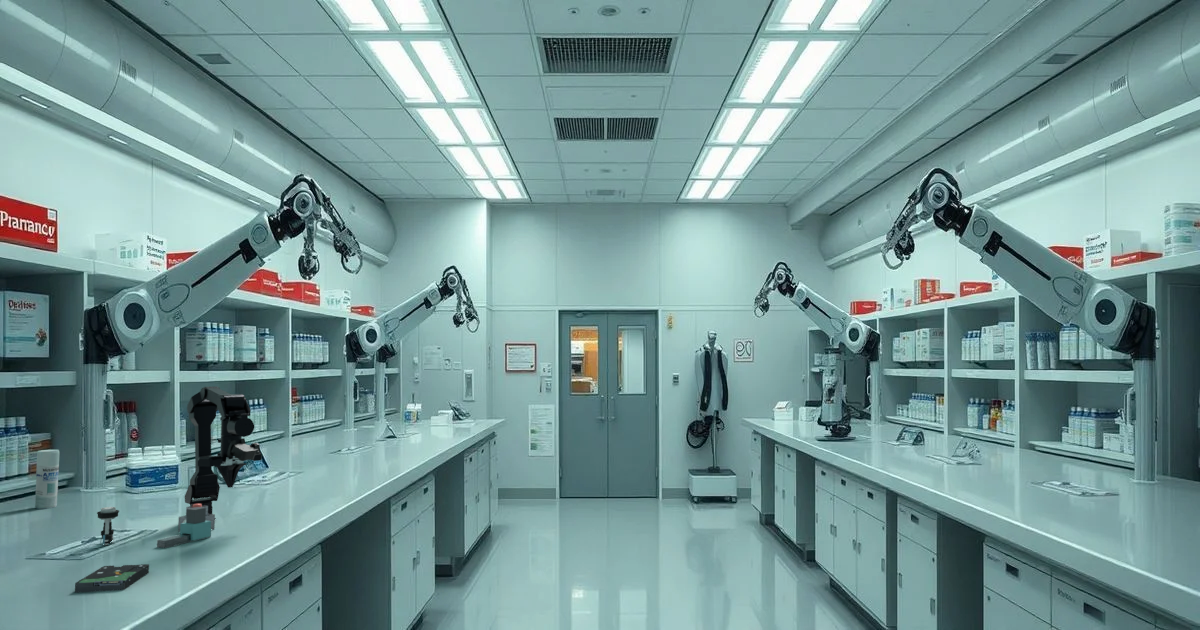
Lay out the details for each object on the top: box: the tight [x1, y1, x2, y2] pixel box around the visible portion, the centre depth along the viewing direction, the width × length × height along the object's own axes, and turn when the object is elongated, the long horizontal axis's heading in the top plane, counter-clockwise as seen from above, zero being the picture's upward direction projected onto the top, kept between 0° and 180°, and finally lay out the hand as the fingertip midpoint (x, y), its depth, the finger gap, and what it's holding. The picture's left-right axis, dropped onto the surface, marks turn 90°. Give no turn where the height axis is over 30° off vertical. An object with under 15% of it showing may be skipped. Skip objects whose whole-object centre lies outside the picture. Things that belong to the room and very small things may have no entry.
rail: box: [156, 533, 212, 549], centre depth 218 cm, size 15×3×2 cm, turn 157°
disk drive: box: [74, 563, 150, 594], centre depth 178 cm, size 10×3×15 cm
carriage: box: [179, 507, 212, 542], centre depth 221 cm, size 6×5×8 cm
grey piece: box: [177, 505, 216, 533], centre depth 233 cm, size 7×7×7 cm
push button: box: [96, 506, 120, 546], centre depth 215 cm, size 7×5×10 cm
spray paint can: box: [34, 449, 61, 510], centre depth 271 cm, size 6×6×20 cm
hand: (230, 487), depth 231 cm, fingers closed
